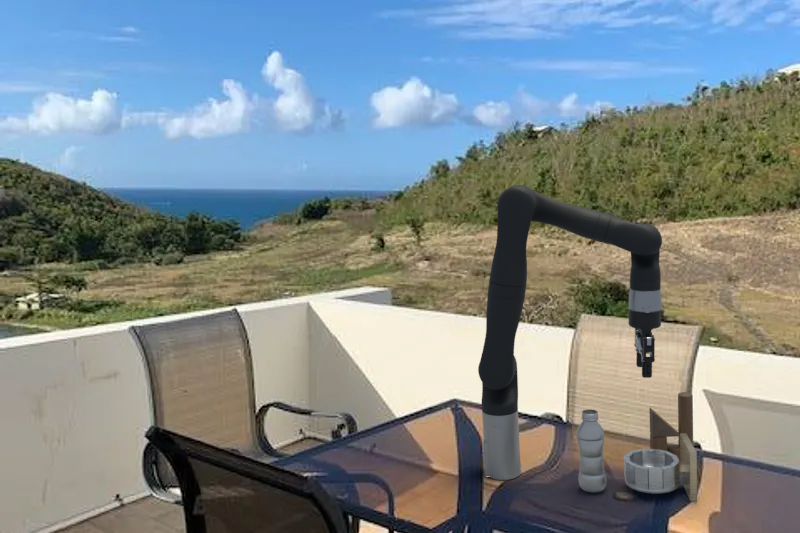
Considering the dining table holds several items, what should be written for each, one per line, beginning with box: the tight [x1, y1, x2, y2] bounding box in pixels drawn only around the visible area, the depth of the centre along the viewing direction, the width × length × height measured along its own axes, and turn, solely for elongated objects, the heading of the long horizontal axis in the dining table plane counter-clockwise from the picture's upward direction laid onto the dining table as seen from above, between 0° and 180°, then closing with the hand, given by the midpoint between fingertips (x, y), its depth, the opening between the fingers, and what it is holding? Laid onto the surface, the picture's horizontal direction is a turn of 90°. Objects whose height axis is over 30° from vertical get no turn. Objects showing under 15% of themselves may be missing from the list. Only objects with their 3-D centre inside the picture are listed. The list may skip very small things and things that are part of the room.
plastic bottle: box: [575, 408, 607, 494], centre depth 193 cm, size 6×7×20 cm
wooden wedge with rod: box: [649, 391, 694, 463], centre depth 207 cm, size 4×11×18 cm, turn 87°
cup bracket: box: [623, 433, 698, 503], centre depth 191 cm, size 16×12×12 cm
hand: (643, 371), depth 194 cm, fingers open, 8 cm apart
